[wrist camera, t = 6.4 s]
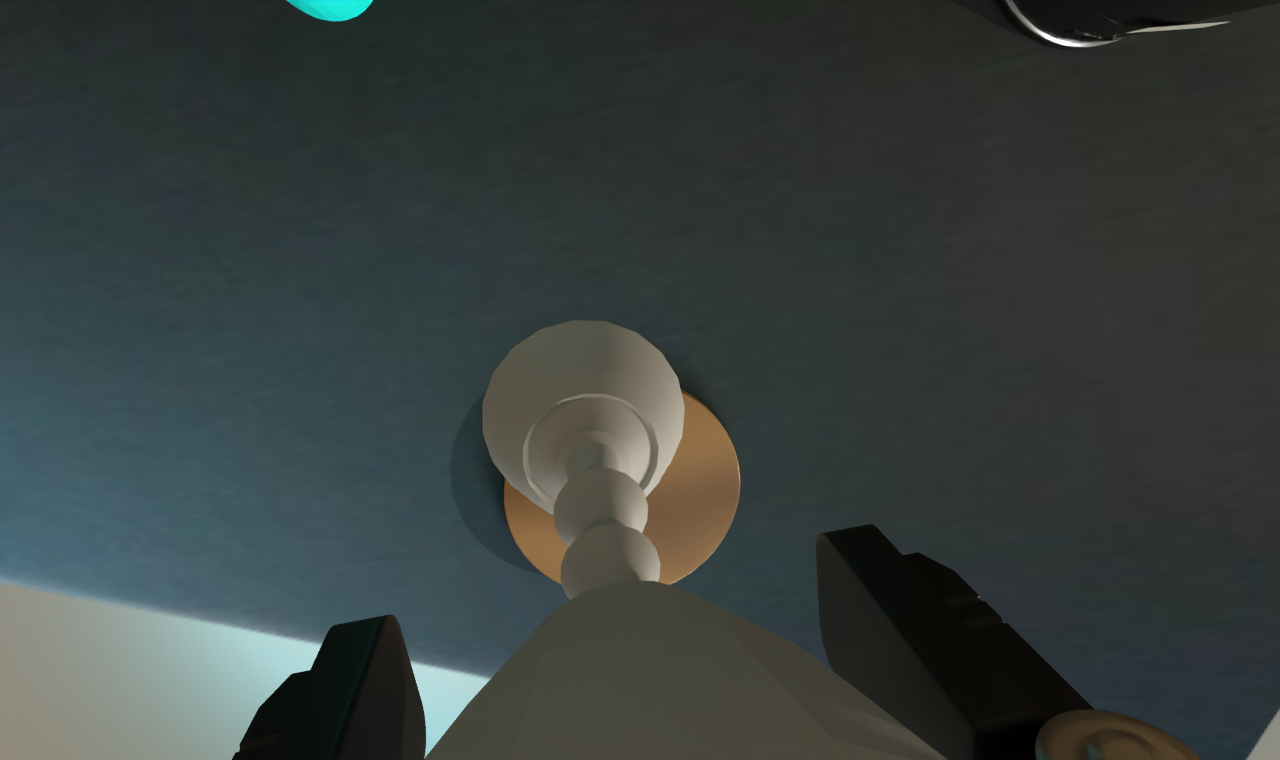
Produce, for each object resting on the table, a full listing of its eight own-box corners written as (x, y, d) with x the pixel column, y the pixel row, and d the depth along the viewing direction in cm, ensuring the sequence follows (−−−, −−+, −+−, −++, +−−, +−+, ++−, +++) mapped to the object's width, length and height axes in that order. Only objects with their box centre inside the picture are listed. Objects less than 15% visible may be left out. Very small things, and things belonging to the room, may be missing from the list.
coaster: (481, 399, 30) (480, 404, 29) (725, 357, 31) (728, 361, 30) (528, 609, 33) (528, 617, 33) (746, 566, 34) (750, 572, 34)
